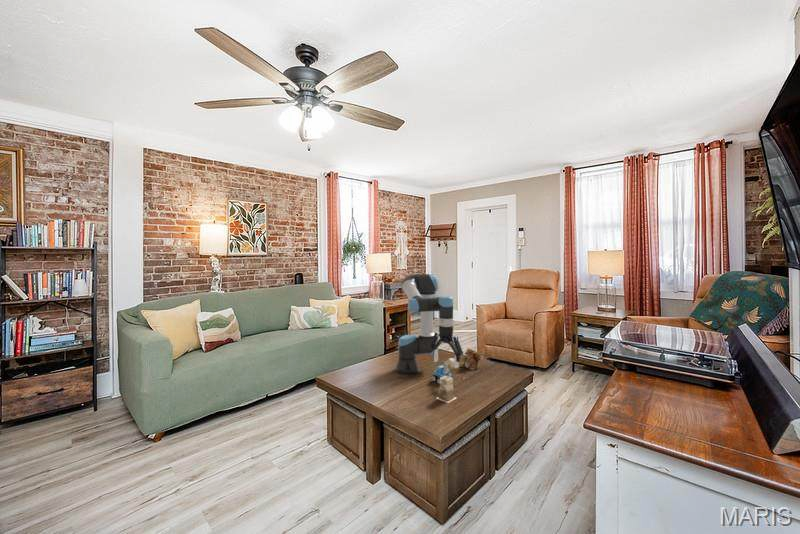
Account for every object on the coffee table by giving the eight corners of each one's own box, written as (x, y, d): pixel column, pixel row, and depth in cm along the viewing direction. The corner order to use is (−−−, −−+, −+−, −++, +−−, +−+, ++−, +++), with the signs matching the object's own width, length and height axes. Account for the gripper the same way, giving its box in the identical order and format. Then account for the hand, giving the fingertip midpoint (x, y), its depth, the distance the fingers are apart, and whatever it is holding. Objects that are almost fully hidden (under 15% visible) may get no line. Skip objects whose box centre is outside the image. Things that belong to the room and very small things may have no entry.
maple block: (439, 389, 178) (439, 378, 178) (445, 386, 182) (445, 375, 182) (447, 391, 175) (447, 380, 175) (453, 389, 178) (452, 378, 178)
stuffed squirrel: (458, 367, 229) (458, 348, 229) (473, 363, 237) (473, 344, 236) (469, 371, 221) (469, 351, 220) (483, 367, 229) (483, 348, 228)
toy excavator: (446, 390, 191) (446, 360, 191) (431, 380, 206) (430, 353, 205) (458, 387, 195) (458, 358, 195) (442, 377, 210) (442, 351, 209)
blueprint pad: (426, 397, 182) (426, 395, 182) (441, 389, 192) (441, 387, 192) (450, 406, 171) (450, 404, 171) (465, 397, 181) (465, 396, 181)
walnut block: (438, 398, 179) (438, 389, 179) (445, 394, 183) (445, 385, 183) (447, 401, 175) (447, 392, 174) (454, 397, 179) (454, 388, 179)
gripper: (423, 323, 183) (423, 360, 184) (461, 330, 166) (461, 372, 167) (432, 320, 188) (432, 357, 190) (469, 327, 171) (469, 368, 172)
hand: (446, 364), depth 178 cm, fingers open, 13 cm apart
